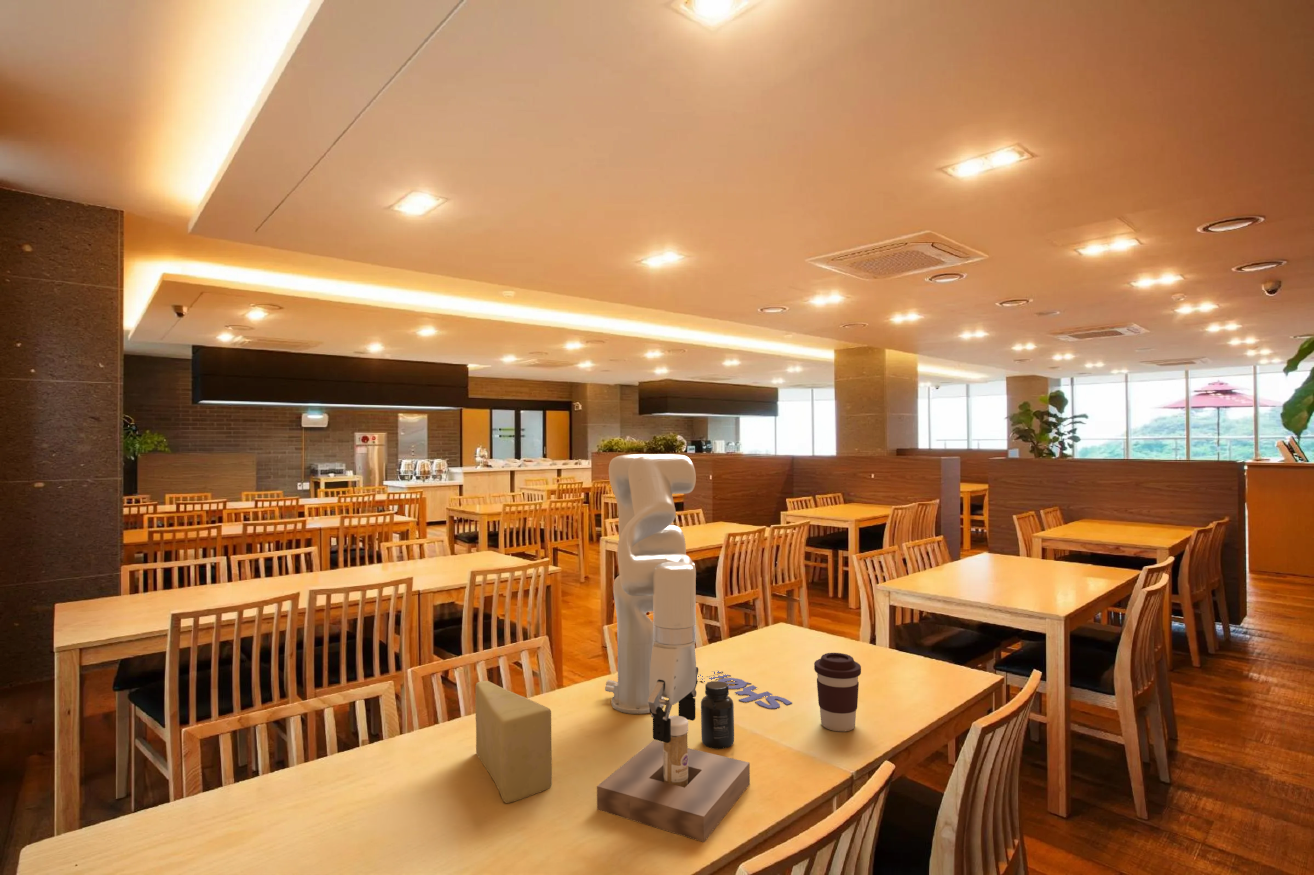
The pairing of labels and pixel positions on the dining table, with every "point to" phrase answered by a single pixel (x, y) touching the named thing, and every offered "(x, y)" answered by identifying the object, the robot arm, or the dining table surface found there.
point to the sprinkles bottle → (676, 753)
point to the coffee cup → (837, 690)
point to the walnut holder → (675, 791)
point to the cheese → (513, 741)
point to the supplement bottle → (717, 716)
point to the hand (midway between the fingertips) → (674, 729)
